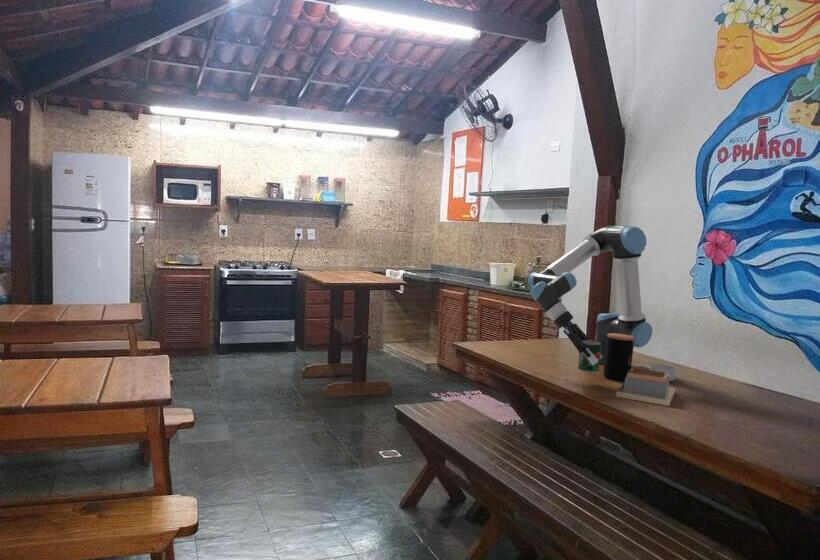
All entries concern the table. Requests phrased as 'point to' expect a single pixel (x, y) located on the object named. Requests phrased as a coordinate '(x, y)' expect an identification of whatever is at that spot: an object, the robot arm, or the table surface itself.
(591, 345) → the canned tomato
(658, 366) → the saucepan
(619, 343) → the coffee jar
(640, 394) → the grey rectangular box
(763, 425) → the table surface
